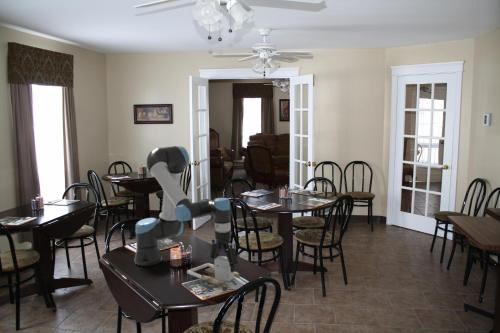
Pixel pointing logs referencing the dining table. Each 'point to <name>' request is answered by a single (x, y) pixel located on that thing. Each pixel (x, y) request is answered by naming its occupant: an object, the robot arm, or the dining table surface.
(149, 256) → the robot arm
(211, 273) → the chip
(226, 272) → the small box
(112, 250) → the dining table surface
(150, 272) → the dining table surface
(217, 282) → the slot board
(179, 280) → the dining table surface
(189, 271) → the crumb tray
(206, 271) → the chip
